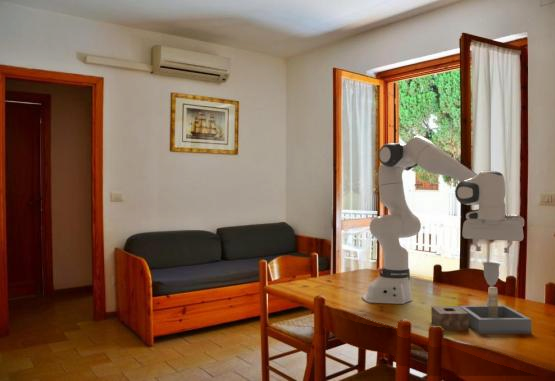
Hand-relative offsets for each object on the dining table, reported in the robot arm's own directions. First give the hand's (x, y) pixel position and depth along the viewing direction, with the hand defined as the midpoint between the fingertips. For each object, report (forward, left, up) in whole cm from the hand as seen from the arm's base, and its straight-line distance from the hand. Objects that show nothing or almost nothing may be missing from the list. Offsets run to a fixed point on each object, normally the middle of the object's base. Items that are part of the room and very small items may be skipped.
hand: (492, 251), depth 162 cm
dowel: (0, 0, -26) cm, 26 cm away
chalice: (+12, +28, -27) cm, 41 cm away
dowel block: (-16, 0, -27) cm, 32 cm away
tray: (0, 0, -27) cm, 27 cm away
